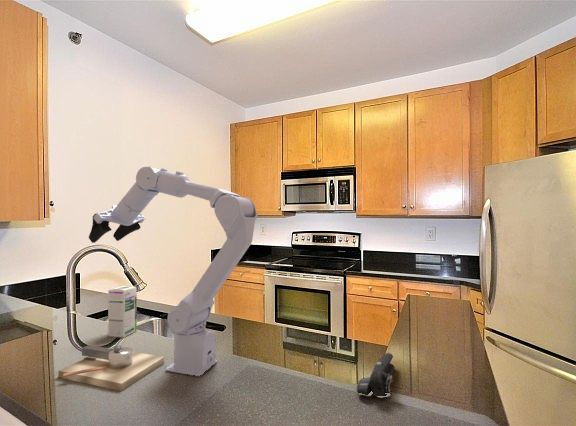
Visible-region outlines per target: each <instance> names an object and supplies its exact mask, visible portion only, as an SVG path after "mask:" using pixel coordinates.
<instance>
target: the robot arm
mask: <svg viewBox="0 0 576 426" xmlns="http://www.w3.org/2000/svg"><path fill="white" fill-rule="evenodd" d="M159 193H161V194H165V195H168V196H172V197H176V198H181V199H182V198H185V197H186V196H187V195H189V196H192V197H196V198H198V199H203V200H206V201H209V205H210V208H211V209H214V214H215V217H216V218H217V220H218V222H219V224H220V225H221V227H222V229H223V231H224V233H225V237H226V240H225V242H224V243H223V245H222V246H221V248H220V249H219V251H218V252H217V254H215V256H214V258H213V259H212V261H211V262H210V264H209V266H208V267H207V269H206V270H205V271H204V273H203V275H202V276H201V277H200V279H199V280H198V282H197V283H196V285H195V287H194V288H193V290H192V291H190V292H189V293H188V294H187V295H186V296H185V297H184V298H182V299H181V300H180V302H179V303H178V304H177V305H175V306H173V307H172V308H171V309H170V310H169V312H168V314H167V319H166V320H167V324H168V327H169V328H170V330H171V331H172V334H173V337H174V339H173V341H174V342H173V363H171V364H170V365H168V366H167V367H166V368H165V371H166V372H171V373H176V374H177V373H178V374H184V375H187V374H188V375H187V376H193V375H195V376H194V377H201V376H202V375H203V374H204V372H205V371H206V370H207V371H208V370H209V369H211V368H212V367H213V366H214V365H215V364H216V363H218V360H217V357H216V353H217V349H216V348H217V347H216V346H217V343H216V341H217V340H216V334H215V332H214V331H211V330H208V329H207V328H206V326H207V321H208V319H209V318H210V316H211V313H212V309H213V308H212V307H213V306H214V305H215V300H214V299H215V297H216V296H217V294H218V293H219V292H220V290H221V289H222V287H223V285H224V284H225V283H226V281H227V279H228V278H230V275H231V274H232V272H233V271H234V270H235V268H236V266H237V265H238V264H239V262H240V260H241V259H242V258H243V256H244V255H245V254H246V252H247V251H248V249H249V247H251V245H252V243H253V238H254V237H253V236H254V231H255V230H254V229H255V223H256V220H257V218H258V212H257V209H256V205H255V203H254V201H253V199H250V198H249V197H244V196H243V197H242V196H241V195H240V194H237V193H235V192H232V191H230V190H226V189H225V188H224V189H223V188H219V187H214V186H209V185H205V184H202V183H201V184H200V183H195V182H192V181H191V179H190V178H189V177H188V175H185V174H184V172H181V171H175V172H171V171H168V169H166V168H162V167H161V168H160V169H158V168H156V167H155V168H154V167H151V166H143V167H142V166H141V168H140V169H138V170H137V173H136V175H135V182H134V183H133V185H132V186H131V188H129V190H128V191H127V192H126V194H125V195H124V196H123V197H122V198H121V199H120V201H118V203H117V204H116V205H115V204H114V205H112V206H111V208H110V209H108V210H106V211H105V210H104V211H102V212H96V213H94V214H93V216H92V225H91V229H90V232H89V235H88V239H89V240H90V242H91V243H92V244H93V243H94V244H95V243H96V242H98V241H99V240H100V239H101V238H102V237H103V236H104V235H105V234H107V233H108V232H110V231H112V228H111V227H110V223H114V224H118V227H117V228H116V230H115V231H114V233H113V235H112V236H113V238H114V239H115V241H117V242H119V241H121V240H122V239H123V238H125V237H126V236H128V235H130V234H132V233H134V232H136V231H138V230H140V229H141V225H140V224H142V223H143V222H144V221H145V220H146V217H145V215H143V213H142V212H143V211H144V209H145V208H146V207H147V206H148V205H149V203H150V202H151V201H152V200H153V199H154V198H155V197H157V196H158V195H159ZM212 365H213V366H212ZM211 366H212V367H211ZM207 371H206V372H207ZM206 372H205V373H206ZM200 375H201V376H200Z"/></svg>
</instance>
